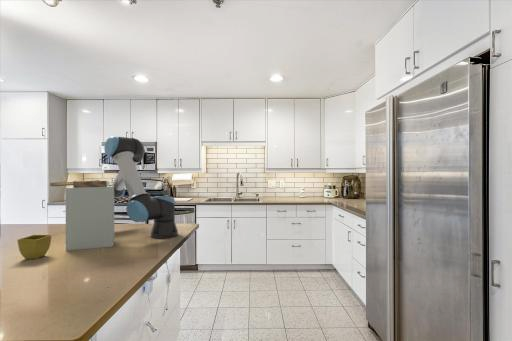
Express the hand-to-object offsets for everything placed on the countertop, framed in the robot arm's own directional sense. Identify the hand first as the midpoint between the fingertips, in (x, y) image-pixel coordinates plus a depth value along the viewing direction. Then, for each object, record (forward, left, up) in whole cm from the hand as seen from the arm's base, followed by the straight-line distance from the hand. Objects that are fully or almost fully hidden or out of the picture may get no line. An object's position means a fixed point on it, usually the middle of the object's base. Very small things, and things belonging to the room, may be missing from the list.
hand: (93, 183), depth 154 cm
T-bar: (-1, +5, -1) cm, 5 cm away
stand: (0, +11, -31) cm, 33 cm away
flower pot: (+20, +23, -31) cm, 44 cm away
